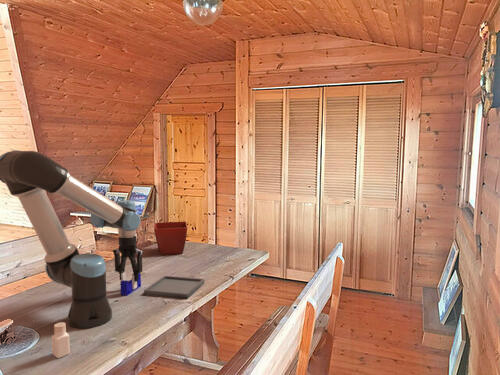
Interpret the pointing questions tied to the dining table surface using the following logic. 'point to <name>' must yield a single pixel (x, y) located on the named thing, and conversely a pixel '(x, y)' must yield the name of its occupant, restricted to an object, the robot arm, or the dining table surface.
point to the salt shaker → (60, 341)
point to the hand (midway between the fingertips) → (129, 287)
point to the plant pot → (170, 237)
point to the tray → (174, 287)
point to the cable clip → (129, 286)
